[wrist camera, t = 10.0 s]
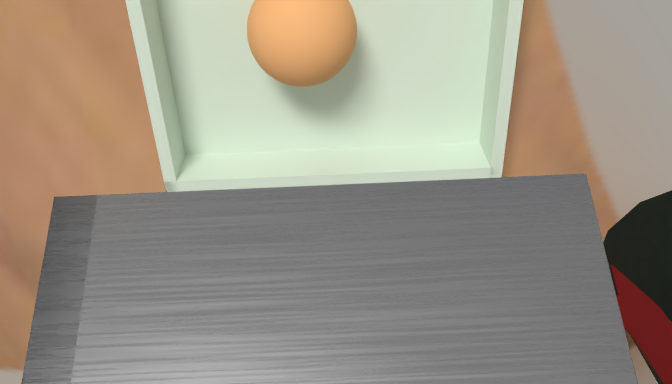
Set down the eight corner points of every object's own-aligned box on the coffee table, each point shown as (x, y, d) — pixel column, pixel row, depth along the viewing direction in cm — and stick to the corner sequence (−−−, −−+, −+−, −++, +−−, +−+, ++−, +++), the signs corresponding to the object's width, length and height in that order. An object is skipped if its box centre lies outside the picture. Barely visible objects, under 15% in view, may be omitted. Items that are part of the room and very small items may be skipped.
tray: (130, -75, 23) (112, -60, 21) (514, -91, 24) (533, -78, 21) (177, 161, 29) (166, 192, 27) (487, 148, 29) (501, 177, 27)
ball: (287, 11, 26) (277, -67, 23) (374, 48, 26) (378, -27, 22) (234, 82, 25) (215, 10, 21) (325, 123, 24) (321, 56, 20)
